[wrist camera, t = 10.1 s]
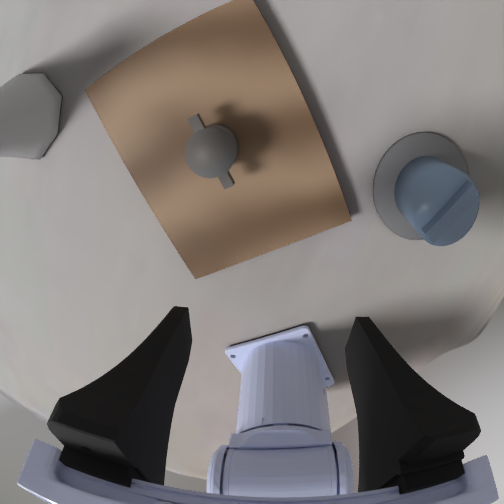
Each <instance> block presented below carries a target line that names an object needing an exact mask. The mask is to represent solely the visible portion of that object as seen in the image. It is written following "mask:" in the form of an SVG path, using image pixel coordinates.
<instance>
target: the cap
mask: <svg viewBox="0 0 504 504" xmlns="http://www.w3.org/2000/svg"><path fill="white" fill-rule="evenodd" d="M479 195H480V194H479V192H478V190H477V187H476V185H475V183H474V181H473V180H472V179H471V178H470V177H469V176H468V175H467V174H465V173H464V172H462V171H460V170H458V169H457V168H455V167H453V166H451V165H449V164H448V163H446V162H444V161H442V160H440V159H438V158H436V157H433V156H421V157H418V158H415V159H413V160H412V161H410V162H409V163H408V164H407V165H405V167H404V168H403V169H402V170H401V172H400V173H399V175H398V178H397V180H396V184H395V190H394V197H395V202H396V205H397V208H398V210H399V211H400V213H401V214H402V215H403V216H404V217H405V218H406V220H407V221H408V222H409V223H410V224H411V225H412V226H413V227H414V229H415V230H416V231H417V232H418V233H419V234H420V236H421V237H422V238H423V239H424V240H425V241H427V242H428V243H430V244H432V245H436V246H446V245H450V244H453V243H455V242H457V241H458V240H460V239H461V238H462V237H464V236H465V235H466V234H467V232H468V231H469V230H470V229H471V227H472V225H473V224H474V222H475V219H476V217H477V214H478V209H479Z"/></svg>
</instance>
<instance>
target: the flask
mask: <svg viewBox="0 0 504 504" xmlns="http://www.w3.org/2000/svg"><path fill="white" fill-rule="evenodd" d="M61 99H62V96H61V95H60V93H59V92H58V91H57V90H56V88H55V87H54V86H53V85H52V83H51V82H50V81H49V80H48V78H47V77H46V76H45V75H44V73H36V74H19V75H17V76H16V77H14V78H12V79H11V80H10V81H8V82H7V83H5V84H4V85H3V86H1V87H0V157H16V158H27V159H41V158H42V156H43V154H44V153H45V151H46V150H47V148H48V147H49V145H50V144H51V142H52V141H53V140H54V138H55V137H56V135H57V134H58V124H59V115H60V106H61Z"/></svg>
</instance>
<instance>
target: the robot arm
mask: <svg viewBox="0 0 504 504" xmlns="http://www.w3.org/2000/svg"><path fill="white" fill-rule="evenodd" d="M304 334H307V335H304ZM191 345H192V335H191V327H190V318H189V310H188V308H187V307H177V306H174V307H173V308H172V309H171V310H170V312H169V313H168V314H167V315H166V317H165V318H164V319H163V320H162V321H161V322H160V324H159V325H158V326H157V327H156V328H155V329H154V330H153V332H152V333H151V334H150V335H149V336H148V337H147V338H146V339H145V340H144V341H143V342H142V343H141V344H140V345H139V346H138V347H137V348H136V349H135V350H134V351H133V352H132V353H131V354H130V355H129V356H128V357H126V358H125V359H124V360H123V361H122V362H120V363H119V364H118V365H117V366H115V367H114V368H113V369H111V370H110V371H109V372H107V373H106V374H104V375H103V376H101V377H100V378H98V379H97V380H95V381H93V382H92V383H90V384H88V385H87V386H85V387H83V388H81V389H79V390H77V391H75V392H73V393H70V394H68V395H66V396H64V397H61V398H59V400H58V402H57V403H56V405H55V407H54V409H53V412H52V414H51V416H50V418H49V420H48V423H47V425H48V427H49V430H50V431H51V432H52V433H53V434H54V435H55V436H56V438H57V439H59V441H60V442H61V443H62V444H63V445H64V448H63V451H61V450H60V449H58V448H56V447H54V446H52V445H49V444H47V443H45V442H42V441H40V440H38V439H34V442H33V444H32V446H31V449H30V451H29V453H28V456H27V458H26V461H25V463H24V466H23V468H22V471H21V473H20V476H19V479H18V481H17V484H18V485H19V486H20V487H22V488H24V489H25V490H27V491H28V492H30V493H32V494H33V495H35V496H37V497H38V498H40V499H42V500H44V501H45V502H48V503H49V504H490V503H493V502H494V501H496V500H498V498H499V497H498V493H497V488H496V485H495V481H494V477H493V474H492V471H491V467H490V463H489V460H488V457H487V456H486V455H485V456H482V457H480V458H477V459H474V460H472V461H469V462H467V463H465V464H462V460H461V459H463V458H464V452H463V450H464V449H465V448H466V447H468V446H469V445H470V444H471V443H472V442H473V441H474V440H475V439H476V438H477V437H478V436H479V434H480V432H481V429H480V426H479V424H478V421H477V418H476V416H475V414H474V413H473V412H470V411H469V410H467V409H465V408H463V407H461V406H459V405H458V404H456V403H454V402H453V401H451V400H450V399H448V398H447V397H445V396H444V395H442V394H441V393H440V392H438V391H437V390H436V389H435V388H433V387H432V386H431V385H429V384H428V383H427V382H426V381H425V380H424V379H423V378H422V377H420V376H419V375H418V374H417V373H416V372H415V371H414V370H413V369H412V368H411V367H410V366H409V365H408V364H407V363H406V362H405V360H404V359H403V358H402V357H401V356H400V355H399V354H398V353H397V352H396V350H395V349H394V348H393V347H392V345H391V344H390V343H389V342H388V341H387V339H386V338H385V337H384V336H383V334H382V333H381V332H380V330H379V329H378V328H377V327H376V325H375V324H374V323H373V321H372V320H371V319H370V318H369V317H356V318H355V322H354V325H353V328H352V330H351V333H350V336H349V339H348V342H347V345H346V348H345V353H346V363H347V371H348V375H349V380H350V384H351V389H352V393H353V398H354V402H355V407H356V412H357V419H358V432H359V463H360V464H359V486H358V493H353V487H354V483H353V481H354V479H353V466H352V460H351V456H350V452H349V450H348V448H346V447H345V446H344V445H343V444H342V443H341V442H340V441H334V442H332V439H331V428H330V419H329V410H328V402H327V394H326V387H329V386H332V385H333V384H334V379H333V377H332V374H331V372H330V370H329V368H328V366H327V364H326V362H325V360H324V358H323V356H322V353H321V351H320V349H319V347H318V345H317V343H316V341H315V339H314V337H313V335H312V333H311V331H310V329H309V327H308V326H305V325H304V326H300V327H296V328H293V329H290V330H287V331H283V332H280V333H277V334H273V335H270V336H267V337H263V338H260V339H256V340H253V341H249V342H245V343H242V344H238V345H234V346H231V347H228V348H226V351H225V353H226V355H227V356H228V357H229V359H230V360H231V361H232V362H233V364H234V365H235V366H236V367H237V369H238V370H239V371H240V372H241V374H242V377H241V387H240V398H239V408H238V418H237V428H236V434H230V443H229V445H222V446H220V447H219V448H218V450H217V451H215V452H214V453H213V455H212V457H211V460H210V463H209V468H208V475H207V493H205V492H197V491H191V490H184V489H179V488H173V487H168V486H164V477H165V466H166V457H167V449H168V442H169V435H170V429H171V423H172V417H173V412H174V407H175V403H176V400H177V397H178V393H179V390H180V387H181V384H182V380H183V377H184V374H185V371H186V368H187V364H188V361H189V356H190V350H191Z"/></svg>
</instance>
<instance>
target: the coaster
mask: <svg viewBox="0 0 504 504" xmlns="http://www.w3.org/2000/svg"><path fill="white" fill-rule="evenodd" d="M421 156H433V157H436V158H438V159H440V160H442V161H444V162H446V163H448V164H449V165H451V166H453V167H455V168H457V169H458V170H460V171H462V172H464V173H465V174H467V175H468V176H469V172H468V168H467V164H466V161H465V159H464V157H463V155H462V153H461V152H460V150H459V149H458V148H457V147H456V146H455V145H454V144H453V143H452V142H451V141H450V140H448V139H446V138H445V137H442V136H440V135H437V134H434V133H429V132H419V133H414V134H410V135H408V136H405V137H403V138H402V139H400V140H398V141H397V142H396V143H394V144H393V145H392V146H391V147H390V148H389V149H388V150H387V152H386V153H385V154H384V156H383V157H382V159H381V161H380V163H379V165H378V167H377V170H376V173H375V177H374V182H373V198H374V203H375V207H376V210H377V212H378V214H379V216H380V218H381V219H382V221H383V222H384V224H385V225H386V226H387V227H388V228H389V229H390V230H391V231H392V232H394V233H395V234H397V235H399V236H401V237H403V238H406V239H411V240H423V238H422V237H421V236H420V234H419V233H418V232H417V231H416V230H415V229H414V227H413V226H412V225H411V224H410V223H409V222H408V221H407V220H406V218H405V217H404V216H403V215H402V214H401V213H400V211H399V210H398V208H397V205H396V202H395V197H394V190H395V184H396V180H397V178H398V175H399V173H400V172H401V170H402V169H403V168H404V167H405V165H407V164H408V163H409V162H410V161H412V160H413V159H415V158H418V157H421Z"/></svg>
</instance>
